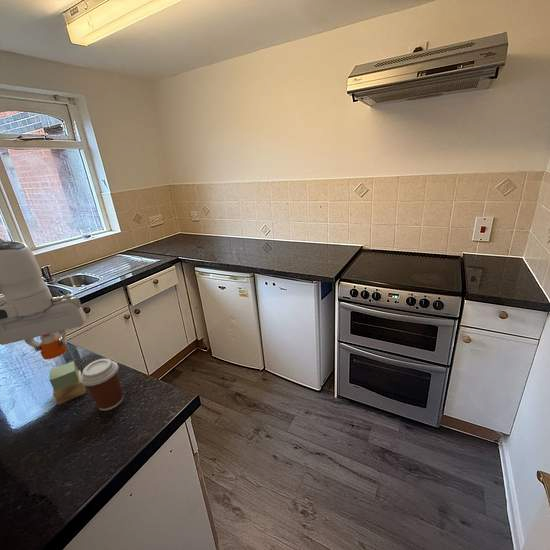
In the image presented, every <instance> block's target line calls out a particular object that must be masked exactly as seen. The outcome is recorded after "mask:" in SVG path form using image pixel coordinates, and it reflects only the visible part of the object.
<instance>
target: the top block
mask: <svg viewBox="0 0 550 550" xmlns="http://www.w3.org/2000/svg"><path fill="white" fill-rule="evenodd" d="M78 371H79V369H78V367H77V364H76V363H75V360H73V361H70V362H67V363H64V364H63V365H60V366H57V367H54V368H51V369H49V383H50V384H51V386H52V387H51V388H52V390H53V389H54V391H55V392H56V391H58V390H61V389H63V388H66V387H68V386H71V385H73V384H75V383H78V382H79V373H78Z"/></svg>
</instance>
